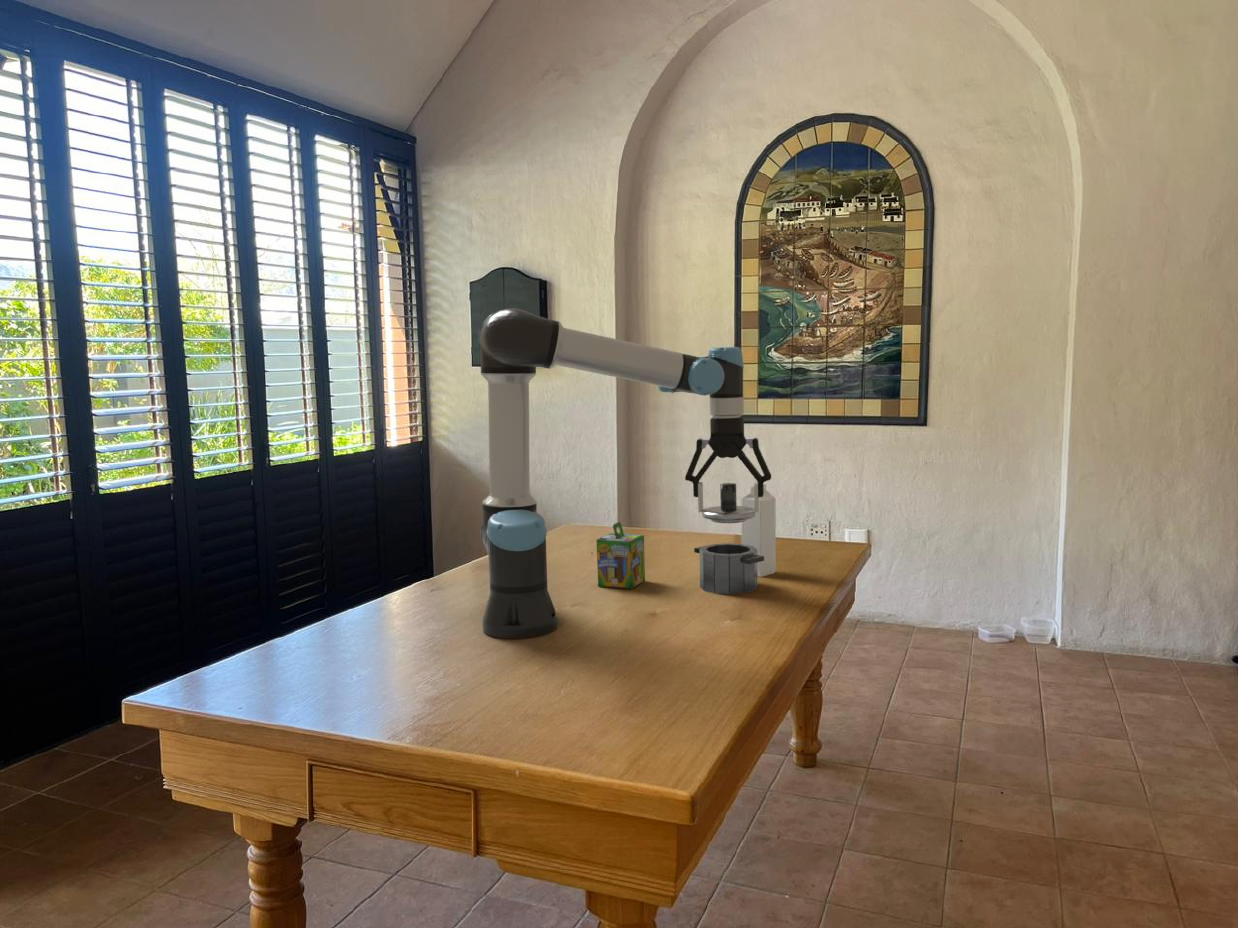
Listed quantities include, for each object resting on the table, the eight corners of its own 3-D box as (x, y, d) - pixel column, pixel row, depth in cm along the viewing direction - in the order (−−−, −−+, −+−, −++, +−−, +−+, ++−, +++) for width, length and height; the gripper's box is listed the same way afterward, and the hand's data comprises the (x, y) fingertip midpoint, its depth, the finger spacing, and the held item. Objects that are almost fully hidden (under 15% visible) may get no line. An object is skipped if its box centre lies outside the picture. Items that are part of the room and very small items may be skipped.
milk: (775, 573, 233) (776, 485, 230) (760, 577, 229) (760, 488, 226) (756, 569, 237) (756, 482, 234) (741, 573, 233) (741, 485, 230)
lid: (728, 527, 205) (728, 490, 204) (691, 520, 214) (690, 484, 213) (766, 519, 212) (766, 483, 211) (728, 513, 222) (728, 478, 220)
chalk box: (632, 590, 220) (631, 527, 218) (596, 587, 223) (595, 525, 221) (646, 580, 228) (645, 520, 226) (612, 577, 232) (610, 518, 230)
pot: (737, 599, 210) (736, 559, 208) (682, 584, 223) (682, 547, 222) (775, 588, 218) (775, 550, 217) (720, 575, 231) (720, 539, 230)
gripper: (782, 414, 211) (783, 508, 214) (675, 415, 216) (678, 508, 219) (781, 416, 204) (782, 514, 207) (671, 418, 209) (673, 514, 212)
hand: (728, 511), depth 213 cm, fingers closed on lid, 12 cm apart
